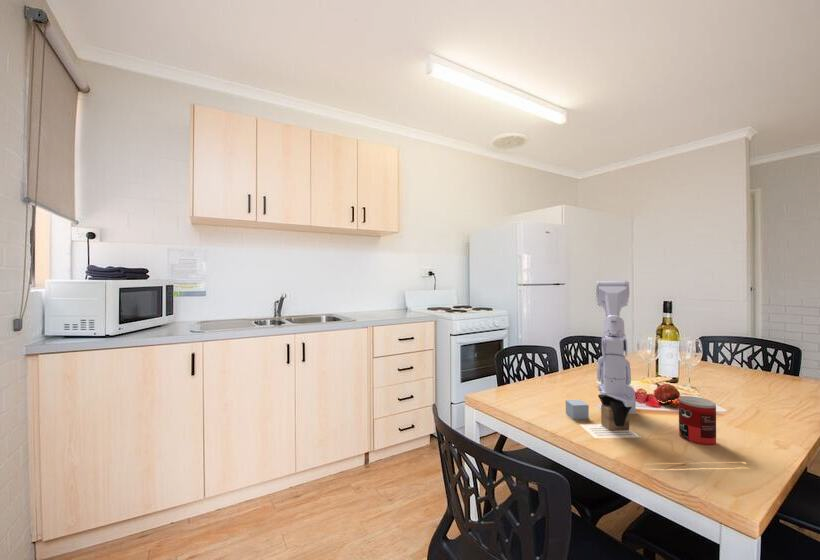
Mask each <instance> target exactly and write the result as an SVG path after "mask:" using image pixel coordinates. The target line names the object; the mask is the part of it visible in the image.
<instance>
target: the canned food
mask: <svg viewBox="0 0 820 560" xmlns="http://www.w3.org/2000/svg"><path fill="white" fill-rule="evenodd" d="M678 435H679V437H681V439H683V440H686V441H688V442H691V443H693V444H698V445H703V446H714V445H716V444H717V404H716V403H715V402H714V401H712V400H710V399H707V398H703V397H700V396H692V395H684V396H683V395H682V396H679V398H678Z"/></svg>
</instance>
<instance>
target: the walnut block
mask: <svg viewBox="0 0 820 560" xmlns="http://www.w3.org/2000/svg"><path fill="white" fill-rule="evenodd" d="M600 405H601V408H600V413H601V415H600V420H601V421H600V422H601V423H600V424H601V425H603V426H604V427H605V428H607V429H608V430H629V429H630V414H629V412H628V414H627V417H626V420H625V423H624V426H616V425H615V420H614V413H613V409H612V406H611V405H602V404H600Z"/></svg>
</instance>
